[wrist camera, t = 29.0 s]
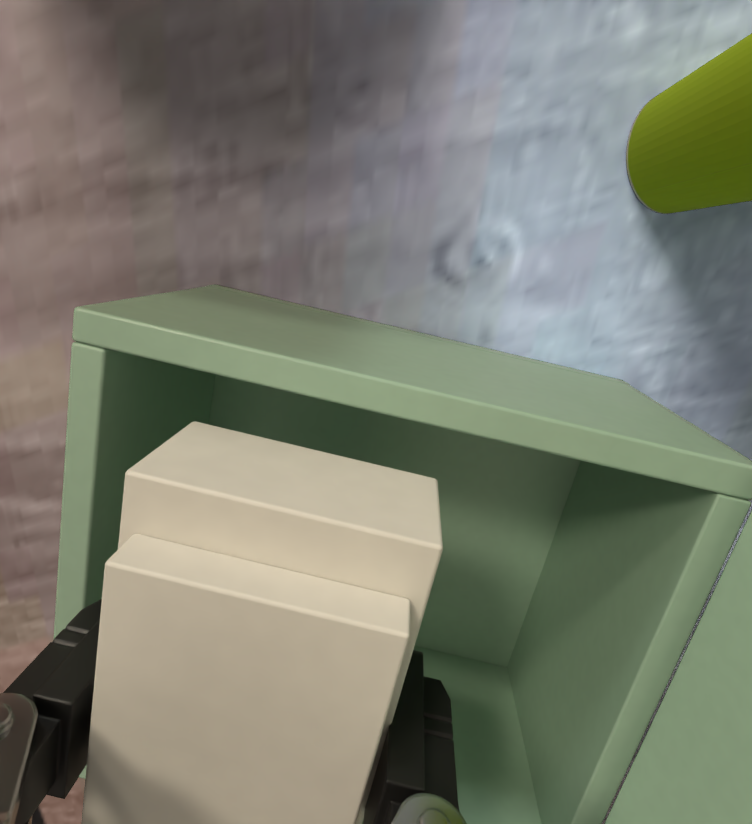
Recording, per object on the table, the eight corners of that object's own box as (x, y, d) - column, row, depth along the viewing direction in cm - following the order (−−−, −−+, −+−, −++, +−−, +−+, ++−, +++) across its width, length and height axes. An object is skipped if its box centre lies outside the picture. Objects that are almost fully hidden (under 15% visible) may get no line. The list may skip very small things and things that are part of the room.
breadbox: (173, 590, 24) (44, 769, 16) (214, 284, 20) (72, 305, 12) (516, 672, 24) (568, 896, 16) (623, 380, 20) (769, 470, 12)
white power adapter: (346, 806, 15) (317, 1029, 11) (148, 757, 15) (39, 960, 11) (438, 477, 12) (449, 601, 8) (193, 419, 12) (68, 510, 8)
